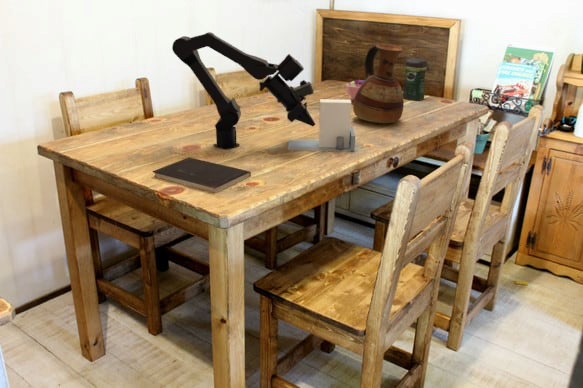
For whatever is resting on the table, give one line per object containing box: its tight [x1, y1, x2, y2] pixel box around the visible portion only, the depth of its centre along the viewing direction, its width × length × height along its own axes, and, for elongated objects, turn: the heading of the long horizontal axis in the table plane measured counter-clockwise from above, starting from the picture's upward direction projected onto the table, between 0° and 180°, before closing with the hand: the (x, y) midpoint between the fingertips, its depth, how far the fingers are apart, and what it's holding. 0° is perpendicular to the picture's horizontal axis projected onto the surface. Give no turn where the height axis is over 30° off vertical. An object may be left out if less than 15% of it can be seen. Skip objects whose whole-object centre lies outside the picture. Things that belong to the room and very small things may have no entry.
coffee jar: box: [402, 57, 428, 101], centre depth 256 cm, size 10×8×19 cm
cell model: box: [345, 79, 366, 100], centre depth 250 cm, size 17×20×11 cm
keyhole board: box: [287, 125, 356, 152], centre depth 184 cm, size 22×12×6 cm, turn 88°
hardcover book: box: [152, 157, 252, 194], centre depth 158 cm, size 16×23×2 cm
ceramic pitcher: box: [352, 42, 405, 124], centre depth 214 cm, size 20×20×30 cm
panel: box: [318, 98, 352, 147], centre depth 181 cm, size 10×4×15 cm, turn 88°
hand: (314, 125), depth 182 cm, fingers closed
